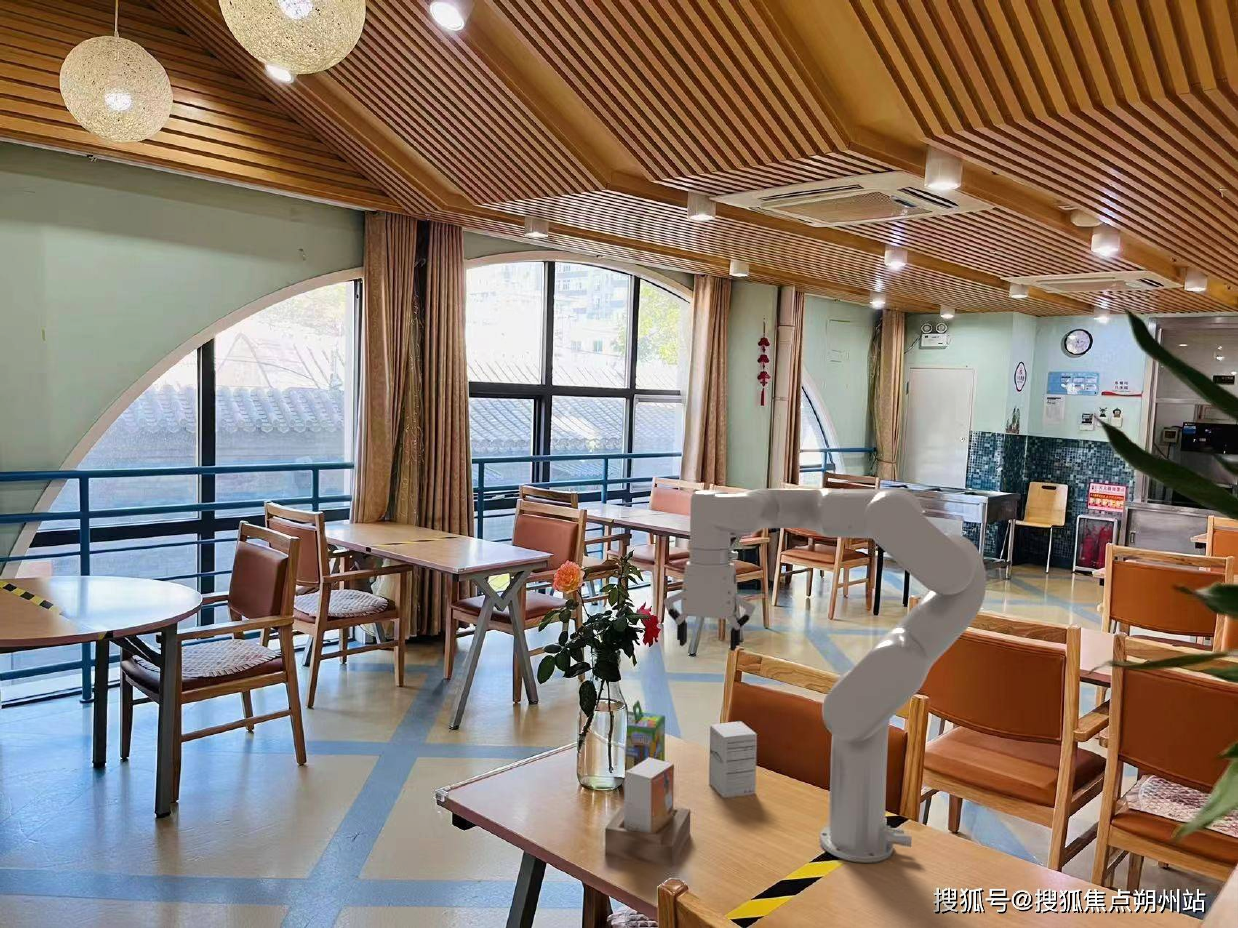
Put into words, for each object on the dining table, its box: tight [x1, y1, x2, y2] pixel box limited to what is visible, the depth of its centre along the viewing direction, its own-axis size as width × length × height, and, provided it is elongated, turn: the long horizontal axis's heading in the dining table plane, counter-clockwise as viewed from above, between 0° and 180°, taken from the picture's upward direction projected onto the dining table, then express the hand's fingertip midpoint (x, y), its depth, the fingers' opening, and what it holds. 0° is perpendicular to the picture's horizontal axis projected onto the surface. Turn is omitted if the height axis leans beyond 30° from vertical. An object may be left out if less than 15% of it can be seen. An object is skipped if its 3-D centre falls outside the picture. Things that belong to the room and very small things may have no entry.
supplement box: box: [708, 720, 758, 799], centre depth 181 cm, size 7×7×13 cm
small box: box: [623, 757, 675, 834], centre depth 158 cm, size 8×6×10 cm
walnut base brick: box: [604, 802, 691, 868], centre depth 159 cm, size 12×12×5 cm
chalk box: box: [625, 700, 666, 771], centre depth 189 cm, size 9×9×15 cm
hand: (708, 646), depth 169 cm, fingers open, 9 cm apart
